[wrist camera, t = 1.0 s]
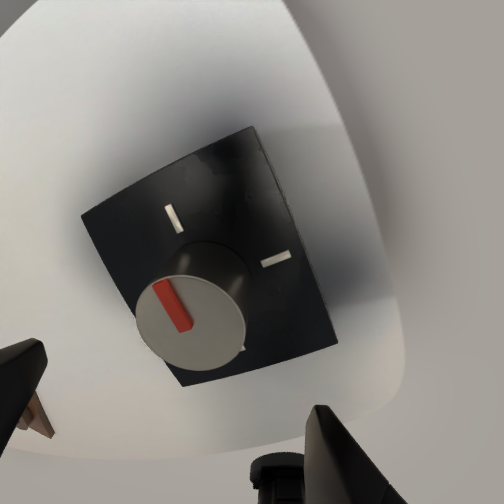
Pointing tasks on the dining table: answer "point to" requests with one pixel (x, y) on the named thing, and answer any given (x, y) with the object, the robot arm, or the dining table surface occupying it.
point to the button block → (35, 418)
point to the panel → (223, 233)
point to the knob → (197, 307)
